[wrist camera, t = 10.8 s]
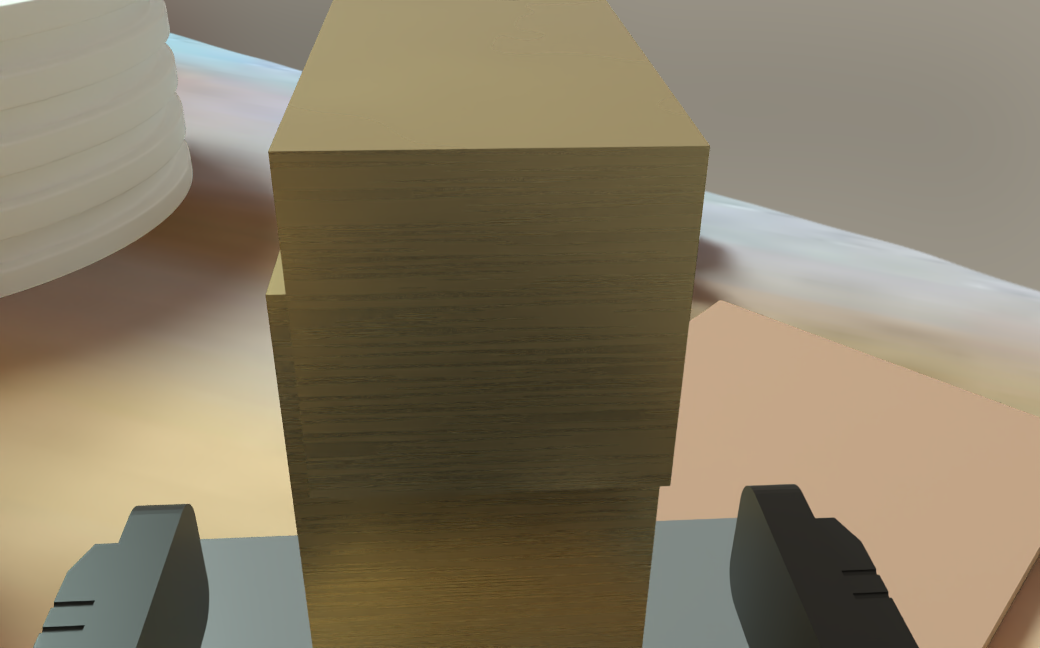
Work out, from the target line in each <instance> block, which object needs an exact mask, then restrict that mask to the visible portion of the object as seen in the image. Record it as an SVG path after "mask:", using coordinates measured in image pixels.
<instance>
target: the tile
mask: <svg viewBox="0 0 1040 648" xmlns="http://www.w3.org/2000/svg"><path fill="white" fill-rule="evenodd" d="M778 484H796V485H797V486H798V487H799V488H800V489H801V491H802V493H803V495H804V497H805V499H806V501H807V503H808V505H809V507H810V509H811V511H812V513H813V515H814V517H815V518H832V517H834V518H836V519H837V520H838V521H839V522H840V523H841V524H842V525H843V526H845V527H846V528H847V529H848V530H849V531H850V532H851V533H852V534H854V535H855V536H856V537H857V538H858V539H859V540H860V541H861V542H862V544H863V545H864V547H865V549H866V551H867V553H868V555H869V556H870V558H871V560H872V562H873V564H874V566H875V567H876V573H877V575H880V577H881V579H882V580H883V582H884V584H885V586H886V588H887V590H888V591H889V593H888V594H889V598H892V599H893V601H894V603H895V604H896V606H897V608H898V610H899V612H900V614H901V615H902V617H903V619H904V621H905V623H906V625H907V627H908V628H909V630H910V632H911V634H912V636H913V638H914V639H915V641H916V643H917V645H918V647H919V648H987V646H988V644H989V643H990V641H991V639H992V637H993V636H994V634H995V632H996V630H997V629H998V627H999V625H1000V623H1001V621H1002V620H1003V618H1004V616H1005V614H1006V613H1007V611H1008V609H1009V607H1010V605H1011V604H1012V602H1013V600H1014V598H1015V597H1016V595H1017V593H1018V591H1019V590H1020V588H1021V586H1022V584H1023V582H1024V581H1025V579H1026V577H1027V575H1028V574H1029V572H1030V570H1031V568H1032V567H1033V565H1034V563H1035V561H1036V559H1037V558H1038V556H1039V554H1040V417H1037V416H1035V415H1032V414H1029V413H1027V412H1024V411H1021V410H1018V409H1016V408H1013V407H1010V406H1008V405H1005V404H1002V403H999V402H997V401H994V400H991V399H989V398H986V397H983V396H980V395H978V394H975V393H972V392H970V391H967V390H964V389H961V388H959V387H956V386H953V385H951V384H948V383H945V382H942V381H940V380H937V379H934V378H932V377H929V376H926V375H923V374H921V373H918V372H915V371H913V370H910V369H907V368H904V367H902V366H899V365H896V364H894V363H891V362H888V361H885V360H883V359H880V358H877V357H875V356H872V355H869V354H866V353H864V352H861V351H858V350H855V349H853V348H850V347H847V346H845V345H842V344H839V343H836V342H834V341H831V340H828V339H826V338H823V337H820V336H817V335H815V334H812V333H809V332H807V331H804V330H801V329H798V328H796V327H793V326H790V325H788V324H785V323H782V322H779V321H777V320H774V319H771V318H769V317H766V316H763V315H760V314H758V313H755V312H752V311H750V310H747V309H744V308H741V307H739V306H736V305H733V304H731V303H728V302H725V301H722V300H719V301H718V302H716V303H715V304H714V305H712V306H711V307H709V308H708V309H706V310H705V311H703V312H702V313H701V314H699V315H698V316H696V317H695V318H693V319H692V320H690V321H689V330H688V338H687V347H686V355H685V364H684V372H683V381H682V390H681V398H680V407H679V415H678V424H677V432H676V441H675V450H674V458H673V467H672V475H671V484H670V486H660V489H659V498H658V508H657V517H656V521H669V520H694V519H718V518H737V516H738V510H739V504H740V498H741V494H742V491H743V489H744V487H745V486H751V485H778Z"/></svg>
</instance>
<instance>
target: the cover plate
mask: <svg viewBox="0 0 1040 648" xmlns="http://www.w3.org/2000/svg"><path fill="white" fill-rule="evenodd" d="M736 522H737V518H718V519H694V520H669V521H656V526H655V535H654V544H653V553H652V562H651V571H650V580H649V590H648V599H647V608H646V617H645V626H644V635H643V644H642V648H749V646H748V643H747V640H746V637H745V635H744V632H743V629H742V626H741V623H740V620H739V617H738V615H737V612H736V609H735V606H734V603H733V599H732V594H731V587H730V575H729V568H730V558H731V552H732V546H733V540H734V534H735V528H736ZM200 542H201V547H202V552H203V557H204V562H205V567H206V572H207V577H208V583H209V613H208V621H207V626H206V630H205V634H204V637H203V641H202V645H201V648H313V647H312V640H311V632H310V625H309V617H308V609H307V602H306V594H305V587H304V579H303V572H302V564H301V557H300V549H299V542H298V535H297V536H273V537H248V538H223V539H200Z"/></svg>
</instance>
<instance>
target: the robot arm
mask: <svg viewBox="0 0 1040 648" xmlns="http://www.w3.org/2000/svg"><path fill="white" fill-rule="evenodd" d="M729 575H730V587H731V594H732V599H733V603H734V606H735V609H736V612H737V615H738V617H739V620H740V623H741V626H742V629H743V632H744V635H745V637H746V640H747V643H748V646H749V648H919V647H918V645H917V643H916V641H915V639H914V638H913V636H912V634H911V632H910V630H909V628H908V627H907V625H906V623H905V621H904V619H903V617H902V615H901V614H900V612H899V610H898V608H897V606H896V604H895V603H894V601H893V599H892V598H889V594H888V593H889V591H888V590H887V588H886V586H885V584H884V582H883V580H882V579H881V577H880V575H877V573H876V567H875V566H874V564H873V562H872V560H871V558H870V556H869V555H868V553H867V551H866V549H865V547H864V545H863V544H862V542H861V541H860V540H859V539H858V538H857V537H856V536H855V535H854V534H852V533H851V532H850V531H849V530H848V529H847V528H846V527H845V526H843V525H842V524H841V523H840V522H839V521H838V520H837V519H836V518H834V517H832V518H815V517H814V515H813V513H812V511H811V509H810V507H809V505H808V503H807V501H806V499H805V497H804V495H803V493H802V491H801V489H800V488H799V487H798V486H797V485H796V484H778V485H751V486H745V487H744V489H743V491H742V494H741V498H740V504H739V510H738V516H737V522H736V528H735V534H734V540H733V546H732V552H731V558H730V568H729ZM208 613H209V583H208V577H207V572H206V567H205V562H204V557H203V552H202V547H201V542H200V537H199V532H198V527H197V522H196V517H195V513H194V510H193V508H192V506H191V505H190V504H175V505H147V506H136V507H135V508H134V509H133V510H132V512H131V514H130V516H129V518H128V521H127V523H126V526H125V528H124V531H123V533H122V535H121V538H120V540H119V543H111V544H95V545H94V546H93V547H92V548H91V549H90V550H89V551H88V552H87V553H86V554H85V555H84V556H83V557H82V558H81V559H80V560H79V561H78V562H77V563H76V564H75V565H74V566H73V567H72V568H71V569H70V570H69V571H68V572H67V574H66V576H65V579H64V581H63V583H62V585H61V587H60V590H59V592H58V594H57V596H56V598H55V601H54V608H51V609H50V612H49V614H48V616H47V618H46V620H45V623H44V625H43V631H42V633H39V636H38V638H37V640H36V642H35V644H34V647H33V648H201V645H202V641H203V637H204V634H205V630H206V626H207V621H208Z"/></svg>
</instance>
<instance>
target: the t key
mask: <svg viewBox="0 0 1040 648" xmlns="http://www.w3.org/2000/svg"><path fill="white" fill-rule="evenodd" d="M709 149H710V145H709V144H708V142H707V141H706V140H705V138H704V137H703V136H702V134H701V133H700V131H699V130H698V128H697V127H696V126H695V124H694V123H693V122H692V120H691V119H690V117H689V116H688V114H687V113H686V112H685V110H684V109H683V108H682V106H681V105H680V103H679V102H678V100H677V99H676V98H675V96H674V95H673V93H672V92H671V91H670V89H669V88H668V86H667V85H666V84H665V82H664V81H663V80H662V78H661V77H660V75H659V74H658V73H657V71H656V70H655V68H654V67H653V66H652V64H651V63H650V61H649V60H648V59H647V57H646V56H645V54H644V53H643V51H642V50H641V49H640V47H639V46H638V45H637V43H636V42H635V40H634V39H633V37H632V36H631V35H630V33H629V32H628V31H627V29H626V28H625V26H624V25H623V24H622V22H621V21H620V20H619V18H618V17H617V15H616V14H615V12H614V11H613V10H612V8H611V7H610V5H609V4H608V3H607V1H606V0H333V2H332V4H331V7H330V9H329V11H328V14H327V16H326V18H325V21H324V24H323V25H322V28H321V30H320V32H319V35H318V37H317V39H316V42H315V44H314V46H313V49H312V51H311V53H310V56H309V58H308V60H307V63H306V65H305V67H304V69H303V72H302V74H301V76H300V79H299V81H298V83H297V86H296V88H295V90H294V93H293V95H292V97H291V100H290V102H289V104H288V107H287V109H286V111H285V114H284V116H283V118H282V121H281V123H280V125H279V128H278V130H277V132H276V135H275V137H274V139H273V142H272V144H271V146H270V149H269V151H268V153H269V162H270V170H271V178H272V186H273V194H274V203H275V211H276V219H277V227H278V236H279V244H280V251H279V254H278V258H277V261H276V264H275V267H274V270H273V273H272V276H271V280H270V283H269V286H268V289H267V292H266V302H267V309H268V317H269V324H270V332H271V339H272V347H273V354H274V362H275V369H276V377H277V384H278V392H279V399H280V407H281V414H282V422H283V429H284V437H285V444H286V452H287V459H288V467H289V474H290V482H291V489H292V497H293V504H294V512H295V519H296V527H297V534H298V542H299V549H300V557H301V564H302V572H303V579H304V587H305V594H306V602H307V609H308V617H309V625H310V632H311V640H312V647H313V648H642V644H643V635H644V626H645V617H646V608H647V599H648V590H649V580H650V571H651V562H652V553H653V544H654V535H655V526H656V517H657V508H658V498H659V489H660V486H670V484H671V475H672V467H673V458H674V450H675V441H676V432H677V424H678V415H679V407H680V398H681V390H682V381H683V372H684V364H685V355H686V347H687V338H688V330H689V321H690V312H691V304H692V295H693V287H694V278H695V270H696V261H697V252H698V244H699V235H700V227H701V218H702V210H703V201H704V192H705V183H706V175H707V166H708V157H709Z"/></svg>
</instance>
